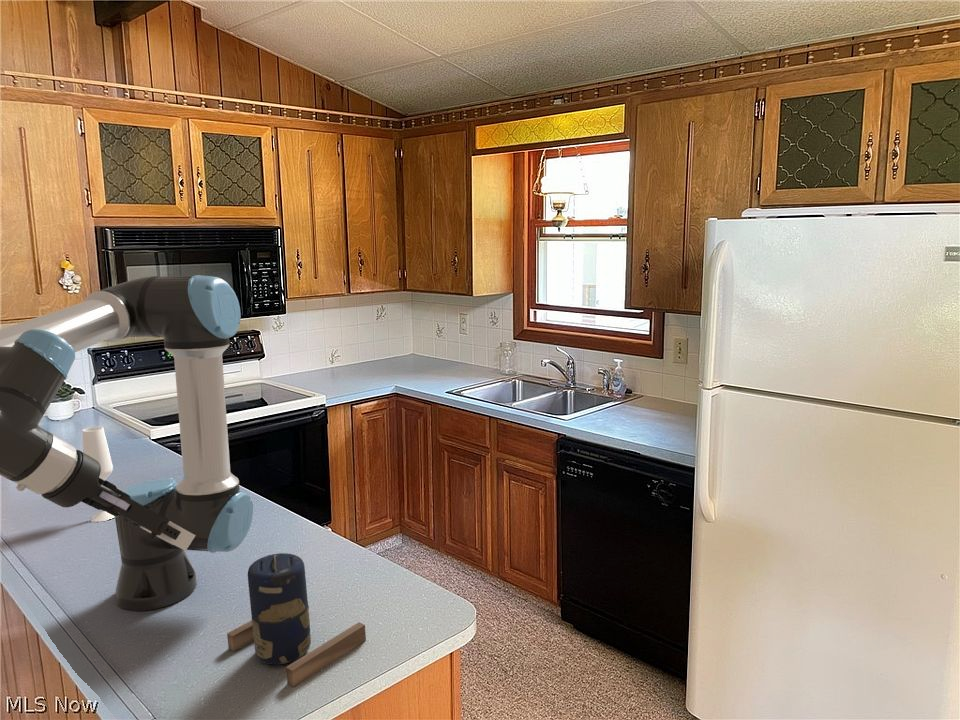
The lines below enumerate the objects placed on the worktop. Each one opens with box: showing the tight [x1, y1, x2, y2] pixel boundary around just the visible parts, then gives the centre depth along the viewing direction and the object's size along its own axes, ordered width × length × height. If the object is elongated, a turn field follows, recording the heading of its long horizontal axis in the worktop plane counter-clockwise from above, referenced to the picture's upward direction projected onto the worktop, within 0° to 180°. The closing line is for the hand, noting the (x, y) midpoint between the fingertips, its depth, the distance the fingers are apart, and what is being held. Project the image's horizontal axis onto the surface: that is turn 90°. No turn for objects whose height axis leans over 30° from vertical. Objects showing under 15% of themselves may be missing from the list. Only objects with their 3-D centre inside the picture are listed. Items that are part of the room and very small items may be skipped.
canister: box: [247, 552, 312, 665], centre depth 121 cm, size 10×10×18 cm
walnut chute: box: [226, 619, 367, 688], centre depth 125 cm, size 18×16×3 cm
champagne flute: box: [82, 425, 115, 522], centre depth 181 cm, size 7×7×24 cm
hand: (183, 539), depth 113 cm, fingers open, 3 cm apart
